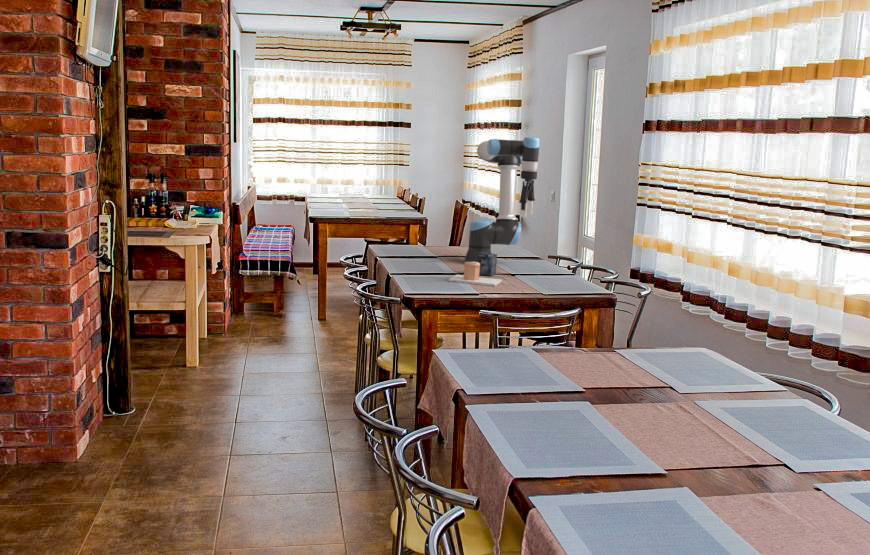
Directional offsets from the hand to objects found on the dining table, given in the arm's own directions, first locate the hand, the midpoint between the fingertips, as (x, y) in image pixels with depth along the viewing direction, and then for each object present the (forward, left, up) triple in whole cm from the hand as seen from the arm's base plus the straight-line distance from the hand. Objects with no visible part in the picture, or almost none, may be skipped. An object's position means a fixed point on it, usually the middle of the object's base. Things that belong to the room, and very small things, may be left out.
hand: (525, 215), depth 400 cm
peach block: (+18, -20, -30) cm, 40 cm away
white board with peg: (+18, -18, -31) cm, 40 cm away
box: (-2, -18, -31) cm, 36 cm away
